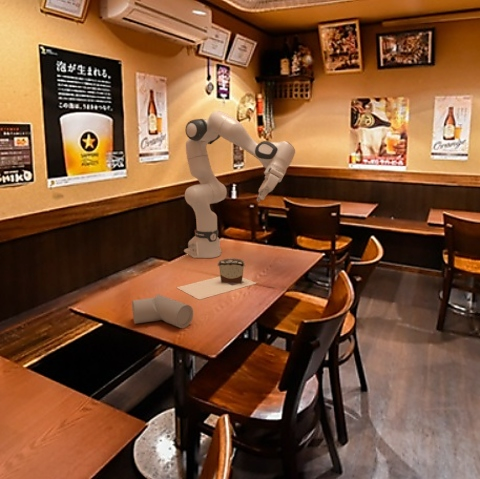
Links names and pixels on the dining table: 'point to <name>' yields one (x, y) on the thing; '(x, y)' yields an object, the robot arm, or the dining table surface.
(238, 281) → the food container
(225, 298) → the dining table surface
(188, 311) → the l-shaped cylinder
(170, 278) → the dining table surface
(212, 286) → the board
